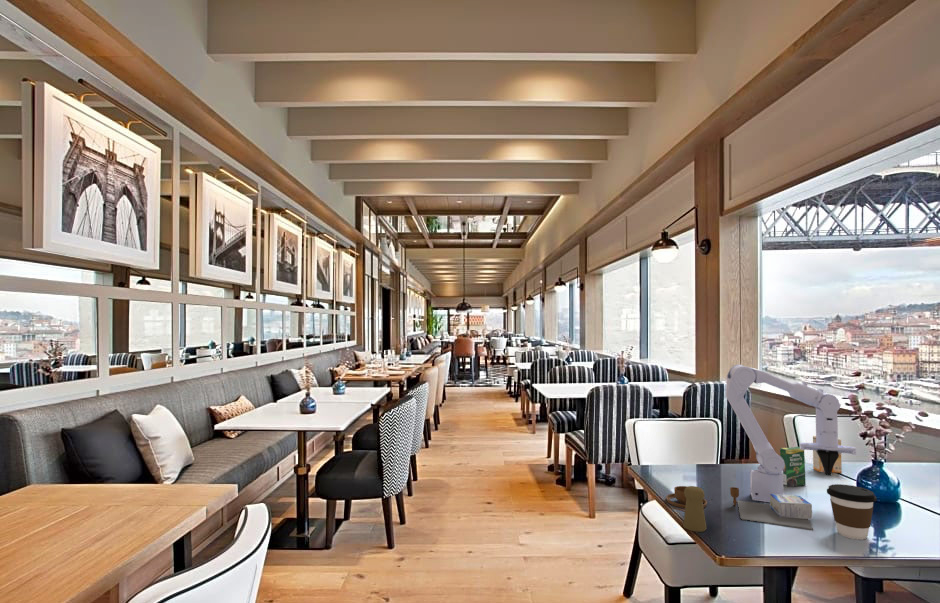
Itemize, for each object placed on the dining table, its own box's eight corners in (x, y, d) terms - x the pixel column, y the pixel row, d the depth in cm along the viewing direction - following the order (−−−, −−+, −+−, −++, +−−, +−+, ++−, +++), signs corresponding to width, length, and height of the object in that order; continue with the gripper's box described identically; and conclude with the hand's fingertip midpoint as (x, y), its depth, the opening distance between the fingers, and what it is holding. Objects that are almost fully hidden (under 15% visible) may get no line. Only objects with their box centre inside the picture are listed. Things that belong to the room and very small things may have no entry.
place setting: (675, 493, 174) (675, 476, 174) (741, 506, 161) (740, 487, 162) (658, 508, 160) (658, 488, 160) (729, 523, 147) (728, 502, 148)
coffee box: (786, 487, 180) (785, 449, 180) (780, 484, 182) (779, 447, 183) (806, 485, 181) (805, 448, 182) (799, 483, 184) (798, 446, 185)
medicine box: (812, 504, 148) (779, 501, 150) (812, 520, 148) (779, 517, 150) (800, 495, 156) (769, 493, 158) (800, 510, 156) (769, 508, 157)
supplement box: (819, 472, 198) (818, 438, 199) (812, 468, 203) (812, 435, 204) (842, 473, 197) (841, 439, 198) (835, 470, 202) (835, 436, 202)
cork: (705, 524, 145) (704, 485, 145) (707, 532, 139) (707, 491, 140) (682, 522, 147) (681, 482, 147) (683, 529, 141) (683, 489, 142)
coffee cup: (856, 527, 144) (855, 483, 144) (889, 543, 133) (887, 496, 134) (818, 527, 144) (816, 483, 144) (847, 543, 133) (846, 496, 133)
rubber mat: (740, 519, 149) (740, 518, 149) (737, 501, 164) (737, 500, 164) (813, 530, 141) (813, 528, 141) (802, 510, 157) (802, 508, 157)
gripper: (801, 431, 162) (803, 475, 161) (858, 435, 156) (859, 481, 155) (798, 427, 168) (799, 469, 168) (852, 431, 162) (853, 475, 162)
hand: (827, 474), depth 162 cm, fingers closed
